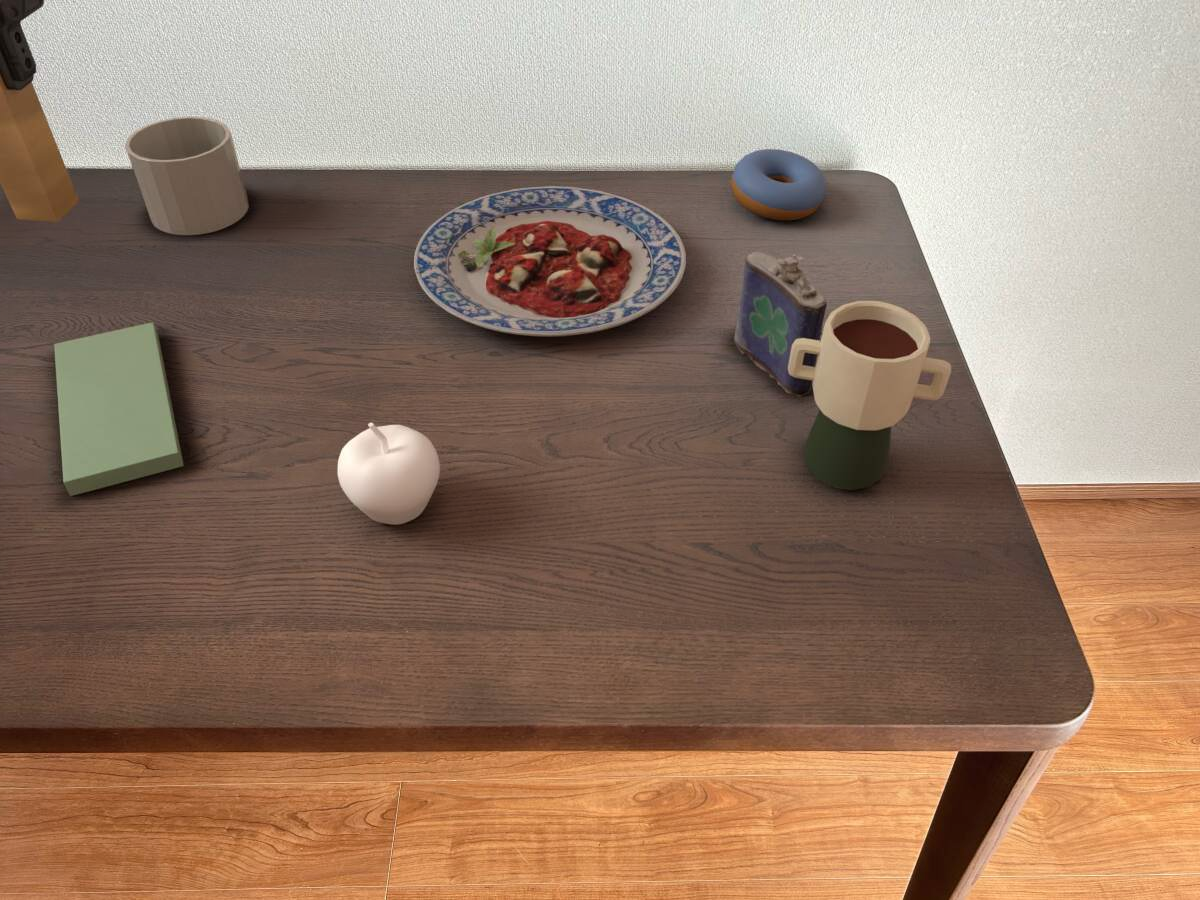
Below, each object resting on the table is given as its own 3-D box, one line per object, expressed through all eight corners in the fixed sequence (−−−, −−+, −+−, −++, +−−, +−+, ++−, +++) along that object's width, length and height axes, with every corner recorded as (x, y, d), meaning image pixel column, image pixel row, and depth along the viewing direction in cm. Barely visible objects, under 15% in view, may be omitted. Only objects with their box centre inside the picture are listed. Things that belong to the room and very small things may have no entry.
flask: (727, 341, 86) (742, 235, 79) (754, 332, 87) (770, 226, 80) (793, 400, 80) (815, 292, 73) (821, 389, 81) (845, 282, 74)
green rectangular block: (60, 357, 83) (53, 343, 82) (158, 335, 86) (153, 321, 85) (70, 496, 71) (63, 482, 70) (184, 466, 74) (178, 452, 73)
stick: (17, 219, 67) (-79, 10, 58) (39, 198, 69) (-49, -7, 60) (58, 222, 67) (-31, 12, 57) (79, 200, 69) (-3, -5, 60)
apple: (365, 466, 74) (348, 386, 68) (456, 479, 73) (446, 398, 68) (332, 534, 69) (310, 453, 63) (428, 548, 68) (415, 467, 63)
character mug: (915, 448, 76) (959, 312, 67) (913, 512, 71) (961, 374, 62) (776, 424, 78) (802, 288, 69) (765, 485, 73) (791, 347, 64)
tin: (134, 232, 98) (107, 158, 92) (174, 185, 105) (152, 114, 100) (227, 238, 97) (206, 164, 92) (262, 190, 104) (244, 119, 99)
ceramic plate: (725, 244, 98) (728, 217, 96) (608, 388, 81) (608, 360, 79) (507, 183, 106) (506, 158, 104) (360, 302, 90) (355, 275, 88)
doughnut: (841, 213, 102) (849, 173, 99) (765, 237, 99) (771, 196, 96) (784, 173, 109) (790, 134, 106) (710, 194, 105) (714, 154, 102)
